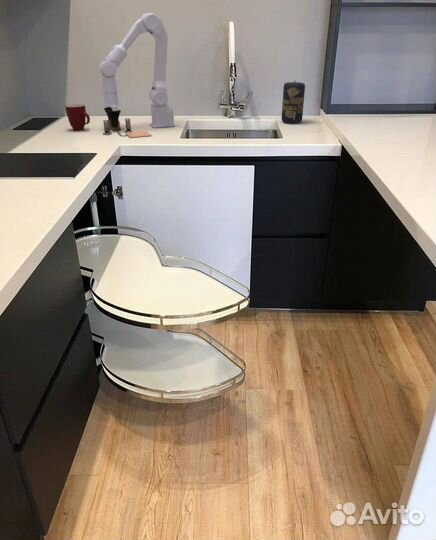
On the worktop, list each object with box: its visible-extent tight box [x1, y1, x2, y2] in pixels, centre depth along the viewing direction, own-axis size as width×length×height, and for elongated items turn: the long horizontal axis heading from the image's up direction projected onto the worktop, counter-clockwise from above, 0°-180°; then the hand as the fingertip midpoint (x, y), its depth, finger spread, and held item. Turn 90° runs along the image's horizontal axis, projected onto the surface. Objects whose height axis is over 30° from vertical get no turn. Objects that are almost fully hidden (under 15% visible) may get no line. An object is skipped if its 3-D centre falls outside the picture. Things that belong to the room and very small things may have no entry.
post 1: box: [102, 119, 113, 136], centre depth 189 cm, size 4×4×6 cm
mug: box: [64, 103, 91, 132], centre depth 195 cm, size 10×8×10 cm
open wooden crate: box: [107, 119, 121, 131], centre depth 198 cm, size 4×4×4 cm
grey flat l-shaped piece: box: [114, 130, 128, 137], centre depth 191 cm, size 4×12×1 cm, turn 22°
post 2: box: [124, 117, 134, 132], centre depth 192 cm, size 4×4×6 cm
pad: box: [124, 130, 152, 139], centre depth 189 cm, size 9×9×1 cm
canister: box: [281, 80, 306, 124], centre depth 207 cm, size 10×10×18 cm
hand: (113, 125), depth 198 cm, fingers open, 5 cm apart
